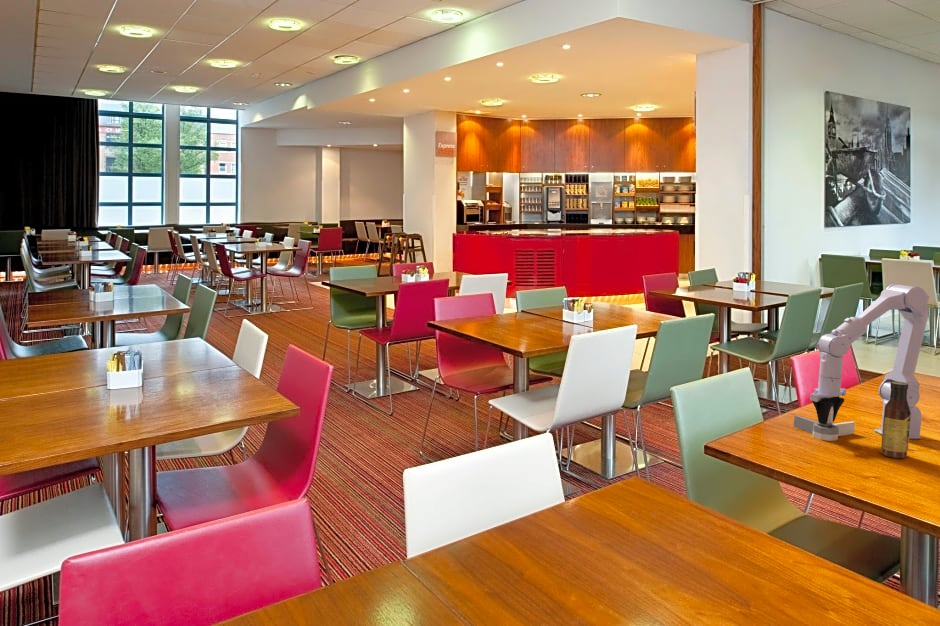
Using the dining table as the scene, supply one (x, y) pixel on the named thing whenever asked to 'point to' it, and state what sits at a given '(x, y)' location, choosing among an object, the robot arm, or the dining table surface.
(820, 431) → the hinge
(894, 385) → the sauce bottle
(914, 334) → the robot arm
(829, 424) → the hinge pin
